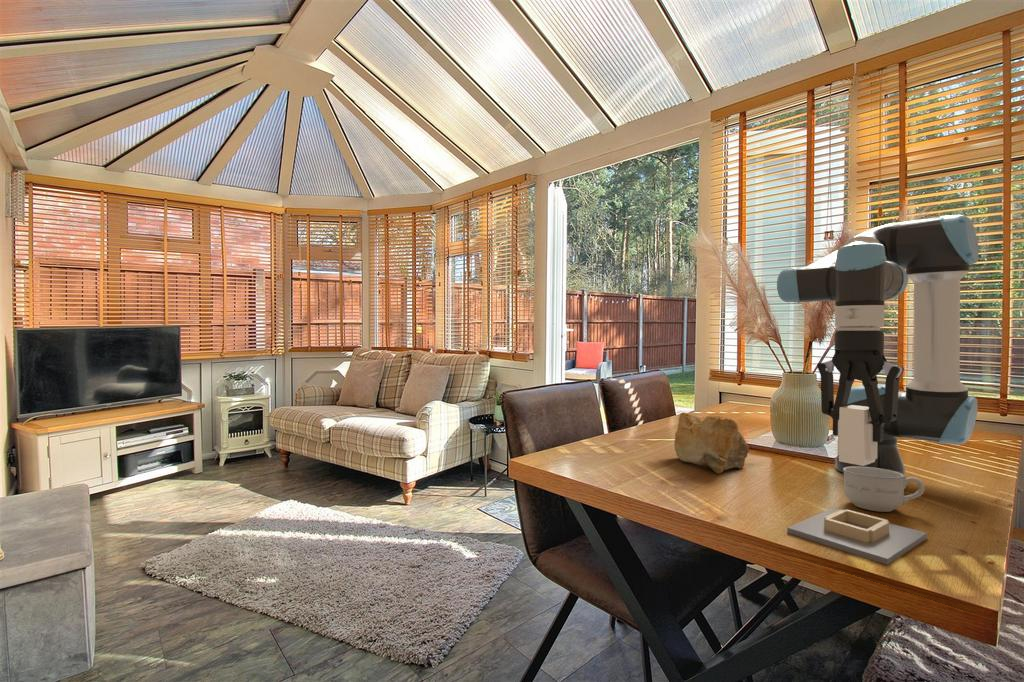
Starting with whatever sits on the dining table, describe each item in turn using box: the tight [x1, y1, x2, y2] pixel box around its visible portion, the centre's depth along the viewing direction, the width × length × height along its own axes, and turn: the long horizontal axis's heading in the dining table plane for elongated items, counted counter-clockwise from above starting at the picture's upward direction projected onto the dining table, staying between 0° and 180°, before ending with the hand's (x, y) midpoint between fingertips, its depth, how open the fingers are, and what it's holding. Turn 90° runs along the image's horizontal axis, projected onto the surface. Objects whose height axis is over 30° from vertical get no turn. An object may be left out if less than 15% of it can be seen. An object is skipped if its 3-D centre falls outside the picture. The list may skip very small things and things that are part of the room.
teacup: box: [843, 466, 926, 513], centre depth 109 cm, size 14×11×8 cm
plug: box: [839, 405, 875, 466], centre depth 94 cm, size 5×4×10 cm
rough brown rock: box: [674, 412, 750, 474], centre depth 143 cm, size 23×17×15 cm
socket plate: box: [786, 507, 928, 566], centre depth 95 cm, size 18×16×3 cm
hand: (857, 456), depth 94 cm, fingers closed on plug, 4 cm apart
